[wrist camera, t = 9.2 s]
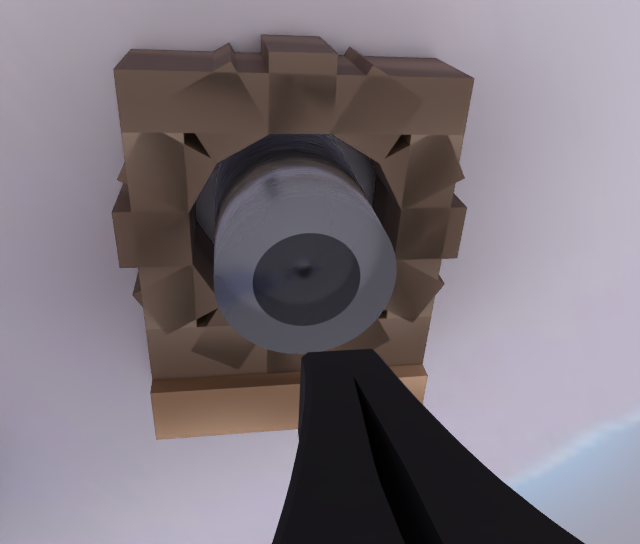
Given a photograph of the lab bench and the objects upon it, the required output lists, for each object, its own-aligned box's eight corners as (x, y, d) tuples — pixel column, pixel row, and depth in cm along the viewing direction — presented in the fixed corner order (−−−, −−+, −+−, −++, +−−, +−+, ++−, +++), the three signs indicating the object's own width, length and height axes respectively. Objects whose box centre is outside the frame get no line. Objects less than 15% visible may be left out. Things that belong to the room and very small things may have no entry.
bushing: (349, 239, 20) (393, 343, 15) (224, 251, 19) (224, 363, 14) (348, 115, 18) (401, 188, 13) (207, 125, 17) (201, 205, 12)
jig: (403, 365, 23) (430, 429, 20) (153, 379, 22) (142, 451, 19) (454, 41, 17) (506, 62, 14) (109, 29, 15) (82, 50, 12)
